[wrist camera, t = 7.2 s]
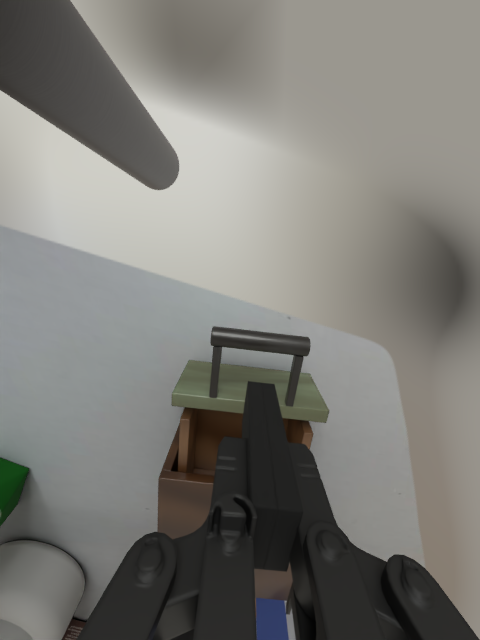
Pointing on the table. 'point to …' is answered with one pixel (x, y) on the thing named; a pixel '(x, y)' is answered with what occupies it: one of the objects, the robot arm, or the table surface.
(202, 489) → the cabinet
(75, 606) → the fat ring
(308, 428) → the drawer
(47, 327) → the table surface
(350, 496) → the table surface
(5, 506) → the fresh milk carton
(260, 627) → the walkman
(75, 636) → the box
